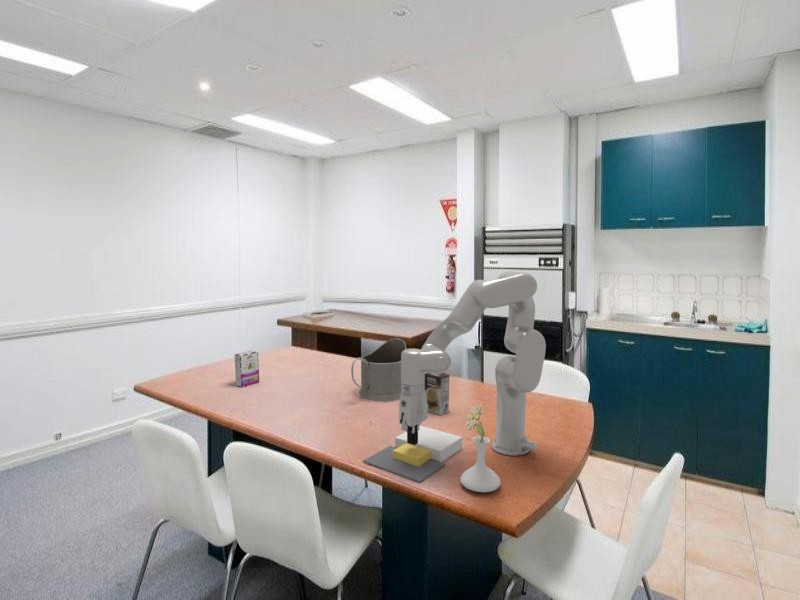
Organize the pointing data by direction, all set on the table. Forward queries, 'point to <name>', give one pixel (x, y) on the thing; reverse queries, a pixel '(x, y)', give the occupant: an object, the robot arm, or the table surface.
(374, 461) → the mat
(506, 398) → the robot arm
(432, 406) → the coffee box
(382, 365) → the pitcher
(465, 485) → the flower in vase
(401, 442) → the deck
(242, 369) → the candy bar box
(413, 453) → the tile
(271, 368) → the table surface
